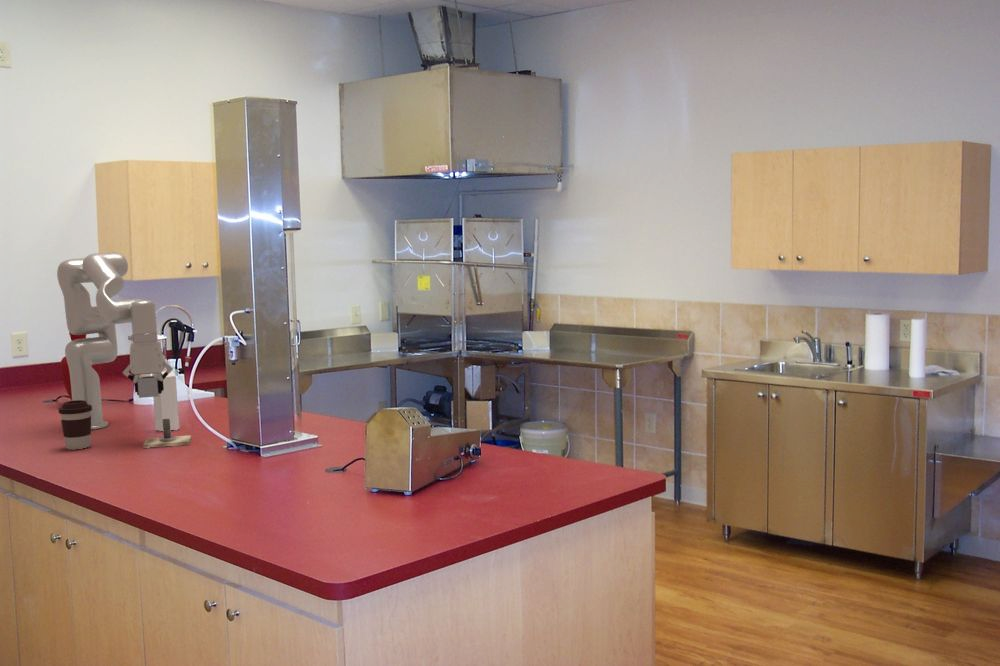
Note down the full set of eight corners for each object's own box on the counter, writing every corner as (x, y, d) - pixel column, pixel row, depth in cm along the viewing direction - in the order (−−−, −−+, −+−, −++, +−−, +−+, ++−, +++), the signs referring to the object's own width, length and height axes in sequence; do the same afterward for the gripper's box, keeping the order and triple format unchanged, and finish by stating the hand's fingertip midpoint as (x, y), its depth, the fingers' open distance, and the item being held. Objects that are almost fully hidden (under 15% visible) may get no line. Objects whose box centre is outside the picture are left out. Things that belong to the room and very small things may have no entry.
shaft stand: (143, 448, 329) (141, 424, 328) (146, 442, 338) (144, 418, 338) (189, 445, 332) (187, 420, 331) (191, 438, 342) (189, 414, 341)
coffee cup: (83, 451, 328) (79, 404, 326) (55, 451, 330) (51, 404, 328) (101, 444, 338) (97, 399, 336) (73, 444, 340) (70, 399, 338)
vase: (66, 411, 402) (60, 334, 398) (61, 405, 414) (55, 331, 411) (106, 406, 409) (100, 331, 406) (100, 401, 422) (94, 328, 418)
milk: (179, 429, 358) (175, 366, 355) (162, 432, 354) (158, 368, 351) (171, 427, 362) (167, 365, 360) (155, 430, 358) (151, 367, 356)
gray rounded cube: (138, 397, 332) (137, 379, 332) (141, 395, 338) (139, 376, 337) (158, 396, 333) (156, 377, 333) (160, 393, 339) (158, 375, 339)
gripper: (115, 341, 328) (120, 397, 330) (172, 338, 332) (176, 393, 334) (118, 339, 336) (123, 394, 338) (174, 335, 339) (178, 390, 341)
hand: (149, 393), depth 336 cm, fingers closed on gray rounded cube, 6 cm apart
